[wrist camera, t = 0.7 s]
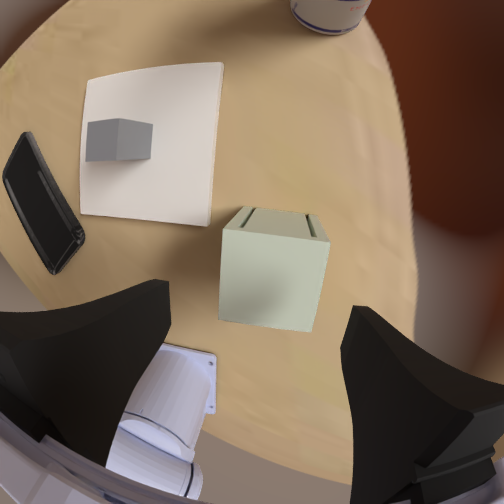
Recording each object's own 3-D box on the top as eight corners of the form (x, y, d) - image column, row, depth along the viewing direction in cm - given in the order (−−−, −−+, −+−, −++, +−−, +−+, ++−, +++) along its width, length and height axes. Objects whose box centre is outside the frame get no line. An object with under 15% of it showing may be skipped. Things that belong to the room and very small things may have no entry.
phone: (53, 278, 24) (0, 176, 21) (59, 274, 25) (7, 174, 22) (84, 239, 21) (25, 126, 18) (91, 235, 22) (32, 126, 19)
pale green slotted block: (305, 282, 21) (311, 332, 14) (238, 273, 21) (218, 319, 15) (316, 215, 19) (330, 242, 13) (244, 206, 19) (222, 228, 13)
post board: (210, 224, 20) (185, 245, 15) (86, 212, 21) (46, 226, 16) (224, 65, 16) (203, 37, 11) (93, 81, 17) (53, 71, 12)
